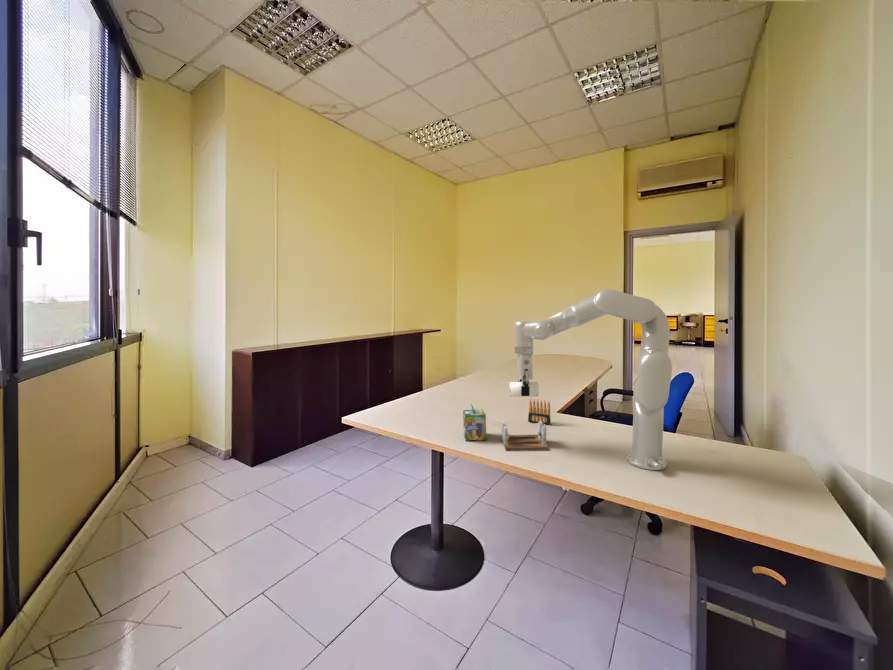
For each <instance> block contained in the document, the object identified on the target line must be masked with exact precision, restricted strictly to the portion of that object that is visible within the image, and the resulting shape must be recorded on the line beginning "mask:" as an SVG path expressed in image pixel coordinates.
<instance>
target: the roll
mask: <svg viewBox="0 0 893 670" xmlns="http://www.w3.org/2000/svg"><path fill="white" fill-rule="evenodd" d="M521 386H522V382H518V381H510V382H509V385H508V391H509V397H511V398H512V397H513V398H514V397H515V398H516V397H517V398H518V397H521V398H522V397H524V398H525V397H526V398H527V397H539V394H540V389H539V388H540V387H539V383H538V382H537V381H529V386H530V389H529V396H521Z"/></svg>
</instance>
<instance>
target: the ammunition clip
mask: <svg viewBox="0 0 893 670" xmlns="http://www.w3.org/2000/svg"><path fill="white" fill-rule="evenodd" d="M528 403H529V404H528V416H527V423H528V422H530V424H535V423H538V422H539V421H541V422H542V423H543V424H545V426H549V425H550V426H551V419H552V418H551V403H550V400H547V402H546V400H544V401H543V400H542V399H540V402H539V399H538V398H537V399H536V400H535V399H533V400H532V398H530V399H529V402H528Z"/></svg>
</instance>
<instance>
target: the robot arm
mask: <svg viewBox="0 0 893 670" xmlns="http://www.w3.org/2000/svg"><path fill="white" fill-rule="evenodd" d="M607 315H610V316H612V317H616V318H620V319H623V320H628V321H631V322H634V323H639V325H640V327H641V335H640V337H641V338H640V339H641V340H640V341H641V342H640V349H639V354H638V358H637V365H638V373H637V380H636V381H635V383H634V386H633V391H632V392H633V394H632V396H633V400H632V401H633V409H632V410H633V411H632V412H633V415H632V416H633V417H632V418H633V419H632V441H631V443H632V448H631V453H629V454H628V455H627V457H626V458H627V459H626V460H627V462H628V463H629V464H630V465H633V466H634V467H638V468H640V469H644V470H648V471H661V470H662V471H663V470H665V469H667V466H668V463H667V461H666V459H664V456H663V443H664V441H663V440H664V419H665V406H666V405H667V403H668V399H669V397H670V387H671V380H672V375H673V374H672V371H673V363H672V360H671V358H670V356H669V347H670V322H669V319H668V316H667V315H666V314H665V312H664V310H662V308H661V307H660V306H658V305H657V304H656V303H655V302H654V301H653V300H651V299H649V298H646V297H642V296H638V295H633V294H630V293H626V292H624V291H623V292H622V291H619V290H616V289H612V288H605V289H602V290H600V291H599V292H597V293H595V294H593V295H591V296H588V297H587V298H584V299H582V300H580V301H577V302H576V303H574V304H571V305H569V306H567V307H566V308H565V309H563V310H562V311H561V312H559V313H557V314H556V313H555V314H554V315H552V316H550V317H548V318H545V319H542V320H539V321H530V320H518V321H516V322H515V323H514V355H516V375H517V377H518V381H517V382H522V386H521V396H527V397H530V396H529V389H530V386H529V382H530V380H533V379H534V376H533V375H534V374H533V373H534V372H533V358H532V357H533V355H534V340H538V341H539V340H540V341H544V340H547V339H548V338H551V337H553V336H556V335H558V334H560V333H562V332H564V331H567V330H569V329H572V328H577V327H580V326H582V325H586V324H587V323H589V322H591V321H594V320H597V319H599V318H601V317H603V316H607Z"/></svg>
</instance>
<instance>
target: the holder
mask: <svg viewBox="0 0 893 670" xmlns="http://www.w3.org/2000/svg"><path fill="white" fill-rule="evenodd" d="M537 426H538V427H537V428H538V432H537V433H538V434H509V431H508V426H507V424H506V422H505V421H501V434H500V440H501V441H502V445H503V446H504V450H505V452H507V451H509V452H510V450H515V452H517V451H516V450H519V451H520V450H528V451H549V447H548V445H547V427H546V425H544V424H543V423H542V422H541V421H539V422H538V424H537ZM519 451H518V452H519Z"/></svg>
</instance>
